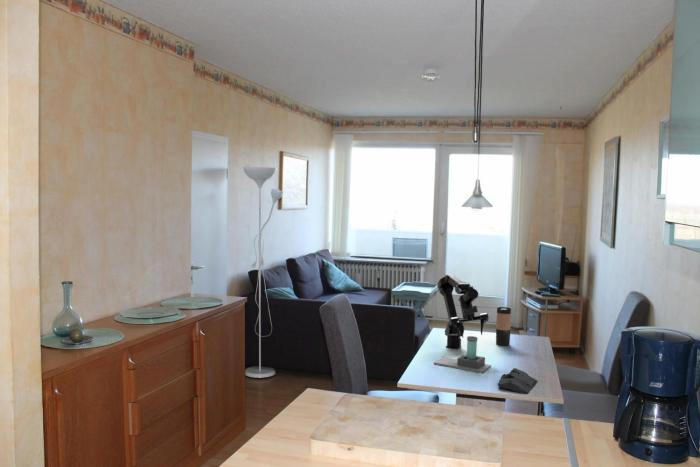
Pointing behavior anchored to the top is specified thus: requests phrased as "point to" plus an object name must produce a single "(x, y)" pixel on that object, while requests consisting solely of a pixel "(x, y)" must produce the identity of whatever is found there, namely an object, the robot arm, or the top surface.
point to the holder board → (454, 364)
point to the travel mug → (503, 326)
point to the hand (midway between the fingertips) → (472, 336)
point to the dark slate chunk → (517, 381)
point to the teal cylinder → (471, 347)
